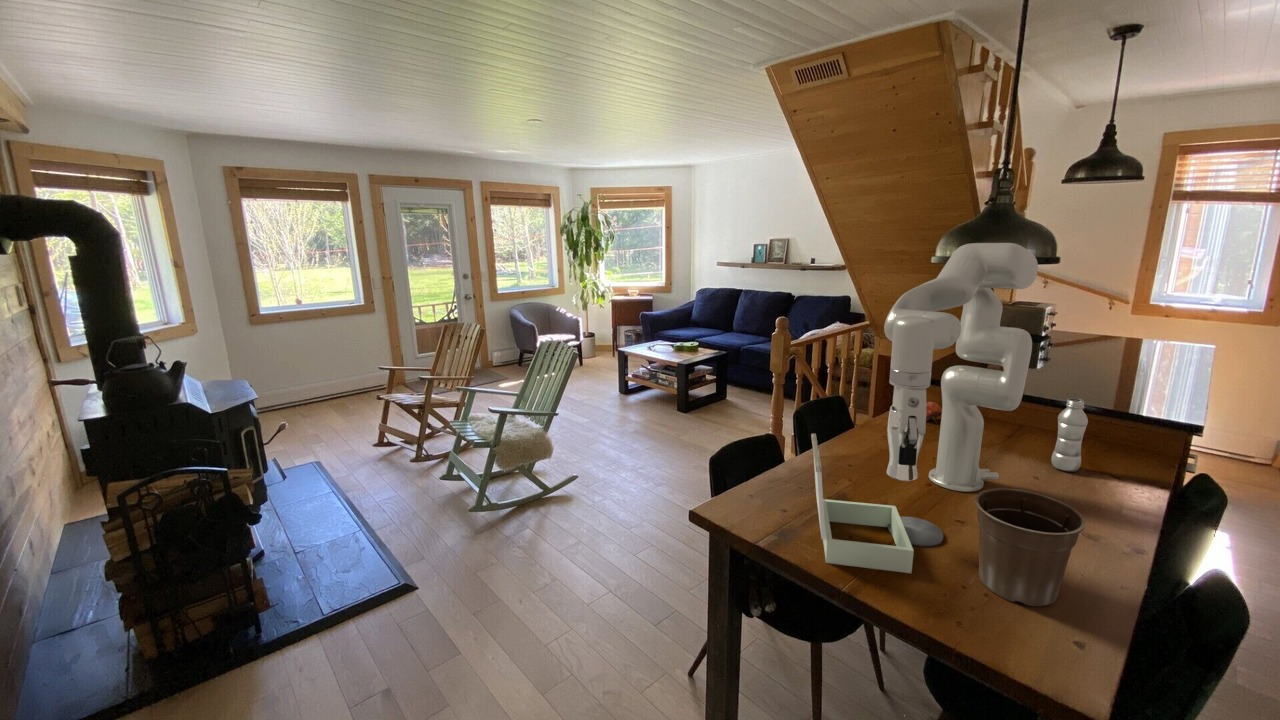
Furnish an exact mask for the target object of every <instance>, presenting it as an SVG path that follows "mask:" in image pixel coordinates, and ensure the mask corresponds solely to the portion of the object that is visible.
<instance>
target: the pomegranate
mask: <svg viewBox="0 0 1280 720" xmlns="http://www.w3.org/2000/svg"><path fill="white" fill-rule="evenodd" d="M940 416H942V407H941V406H940V405H939V403H937V402H935V401H928V402H927V401H926V422H927V421H934V422H935V423H936V425H938V423H937V421H936V419H937V418H939V417H940Z"/></svg>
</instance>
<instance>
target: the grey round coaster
mask: <svg viewBox="0 0 1280 720" xmlns="http://www.w3.org/2000/svg"><path fill="white" fill-rule="evenodd" d="M900 518H901V521H902V523H903V526H904V528H905V531H906V533H907V535H908V538H909V540H910V543H911V545H912V546H917V547H935V546H938V545H940V544H941V543H942V542H943V541H944V531H942V529H941V528H940V527H939V526H937V524H934V523H933V522H930V521H928V520H925V519H922V518H919V517H913V516H900ZM887 530H888V532H889V534H891V536H893V531H892V528H891V526H890V524H888V527H887Z"/></svg>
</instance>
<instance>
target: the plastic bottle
mask: <svg viewBox="0 0 1280 720" xmlns="http://www.w3.org/2000/svg"><path fill="white" fill-rule="evenodd" d="M1066 401H1067V402H1066V403H1065V406H1066V408H1064V409H1063V410H1062V411H1060V413H1059V414H1058V415H1057V424H1058V425H1057V429H1058V430H1057V437H1056V438H1057V439H1056V443H1055V445H1054V447H1055V448H1054V450H1053V451H1052V455H1051V464H1052V466H1053V467H1054V468H1056V469H1057V470H1061V471H1064V472H1077V471H1078V470H1079V469H1080V467H1081V465H1082V454H1081V453H1082V442H1083V440H1084V439H1083V438H1084V435H1085V431H1086V428H1087V426H1088V423H1089V420H1088V416H1087V415H1086V413H1085V412H1084V409H1085V400H1083V399H1080V398H1076V397H1075V398H1072V397H1070V398H1067V400H1066Z"/></svg>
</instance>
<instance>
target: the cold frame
mask: <svg viewBox="0 0 1280 720" xmlns="http://www.w3.org/2000/svg"><path fill="white" fill-rule="evenodd" d="M823 504H824V520H825V535H826V540H822V545H823V550H824V551H823V552H824V556H825V557H824V558H825V563H826V564H833V565H839V566H849V567H855V568H856V567H858V568H865V569H866V568H867V569H872V570H880V571H889V572H897V573H898V572H899V573H904V574H905V573H906V574H912V572H913V562H914V561H913V560H914V552H915V551H914V547H913V545H912V544H911V543H910V540H909V538H908V535H907V533H906V531H905V528H904V526H903V523H902V521H901V518H900V517H901V516H900V514H899V512H898V508H897V507H896V505H890V504H878V503H867V502H855V501H847V500H835V499H824V498H823ZM831 522H832V523H842V524H851V525H853V524H854V525H862V526H872V527H882V528H888V524H890V526H891V528H892V531H893V535H892V538H893V540H894V543H895V545H890V544H889V545H888V544H881V543H880V544H879V543H870V542H861V541H856V540H855V541H852V540H843V539H835V538H833V537H832V536H833V535H832V530H831V524H830V523H831Z"/></svg>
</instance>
